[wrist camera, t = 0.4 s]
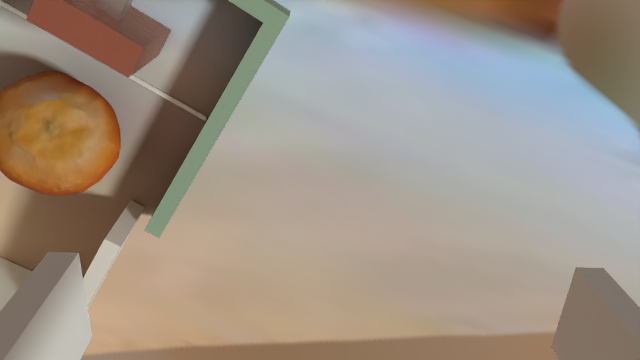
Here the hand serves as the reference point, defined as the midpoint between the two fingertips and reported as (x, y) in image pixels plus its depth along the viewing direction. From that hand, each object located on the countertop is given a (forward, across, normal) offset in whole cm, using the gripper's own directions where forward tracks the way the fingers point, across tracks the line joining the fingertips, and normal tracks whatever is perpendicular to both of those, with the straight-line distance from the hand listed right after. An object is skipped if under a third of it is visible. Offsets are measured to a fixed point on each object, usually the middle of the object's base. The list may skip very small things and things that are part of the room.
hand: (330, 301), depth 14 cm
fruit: (+26, -17, -4) cm, 31 cm away
